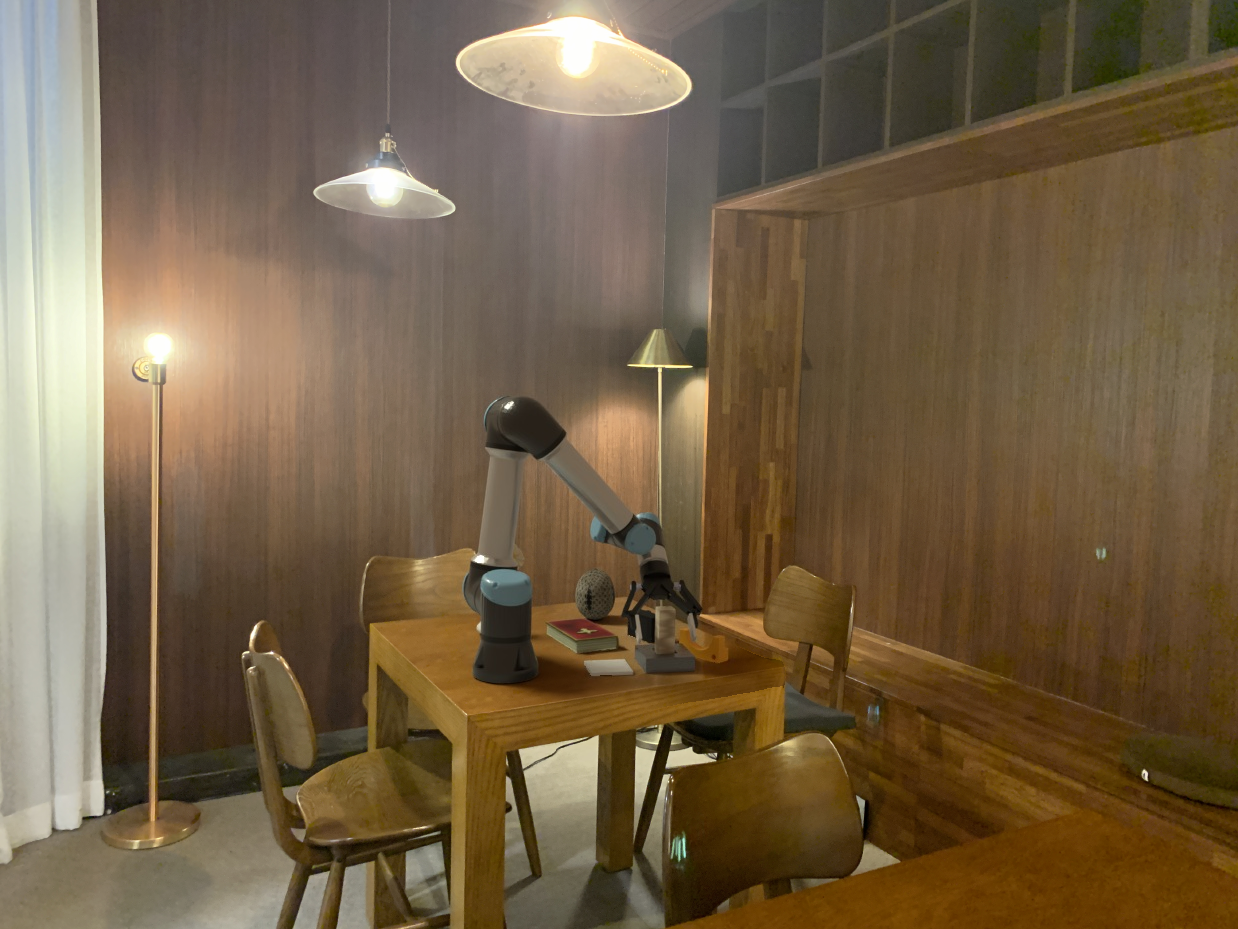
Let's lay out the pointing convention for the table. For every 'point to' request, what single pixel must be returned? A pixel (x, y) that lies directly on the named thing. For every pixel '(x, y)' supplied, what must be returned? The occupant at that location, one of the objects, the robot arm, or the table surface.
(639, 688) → the table surface
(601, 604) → the decorative egg
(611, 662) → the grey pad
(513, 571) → the robot arm
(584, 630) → the hardcover book
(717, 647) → the pipe clamp
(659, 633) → the birch peg
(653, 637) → the black rectangular block
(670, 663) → the socket block
